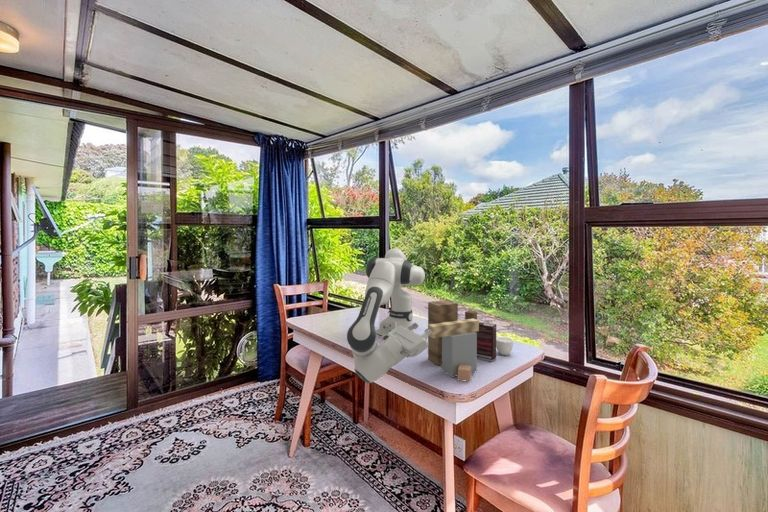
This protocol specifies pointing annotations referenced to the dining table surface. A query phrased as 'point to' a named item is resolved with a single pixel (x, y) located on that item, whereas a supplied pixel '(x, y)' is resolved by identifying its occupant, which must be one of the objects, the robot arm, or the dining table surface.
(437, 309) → the walnut stand
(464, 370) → the clay cube
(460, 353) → the grey step block
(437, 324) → the oak bar
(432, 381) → the dining table surface
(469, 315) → the wooden block
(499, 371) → the dining table surface
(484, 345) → the supplement box
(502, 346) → the cup
